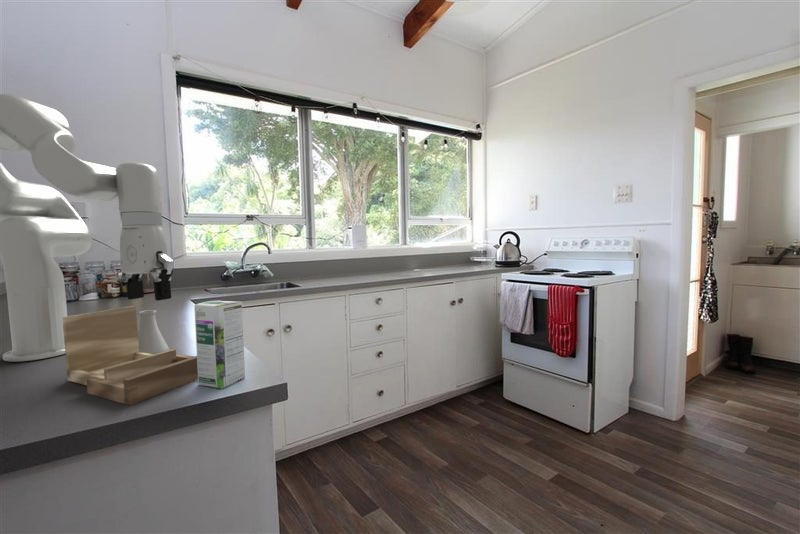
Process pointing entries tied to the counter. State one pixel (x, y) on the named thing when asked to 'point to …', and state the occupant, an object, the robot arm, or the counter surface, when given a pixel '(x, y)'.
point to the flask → (150, 334)
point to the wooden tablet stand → (107, 346)
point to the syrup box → (219, 343)
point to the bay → (146, 382)
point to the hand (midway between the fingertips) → (149, 298)
